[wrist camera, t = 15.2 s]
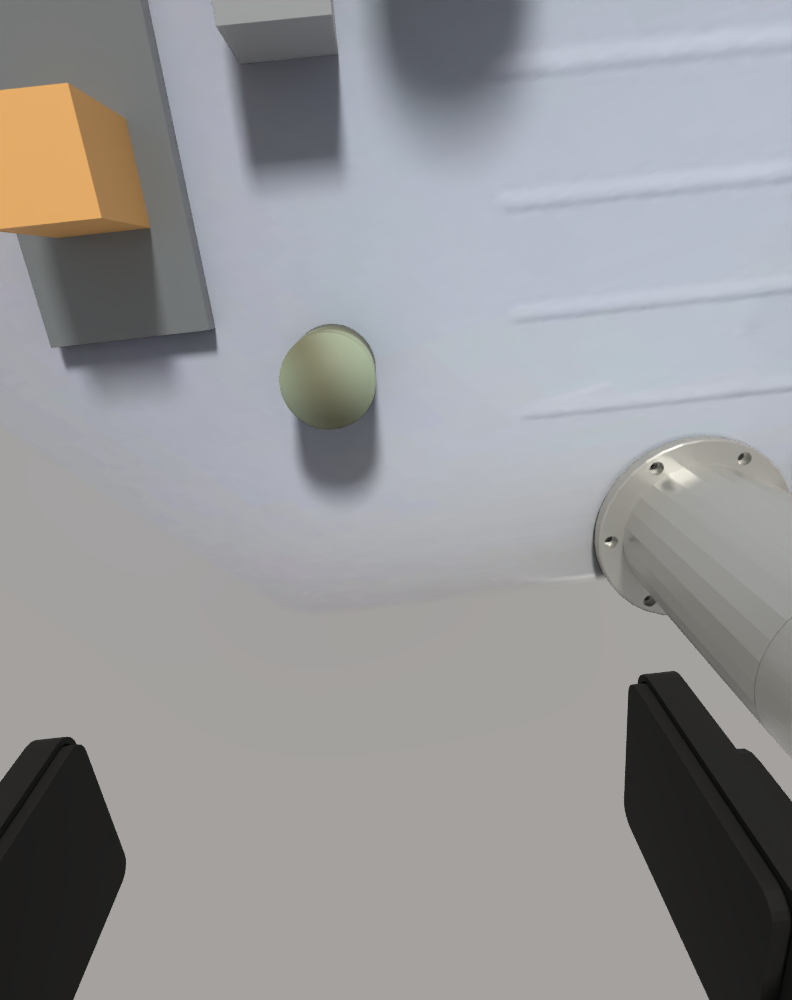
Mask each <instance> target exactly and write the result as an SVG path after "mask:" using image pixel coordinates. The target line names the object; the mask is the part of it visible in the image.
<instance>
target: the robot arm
mask: <svg viewBox="0 0 792 1000" xmlns="http://www.w3.org/2000/svg"><path fill="white" fill-rule="evenodd" d="M653 463H654V466H653V467H651V465H652V464H653ZM650 467H651V468H650ZM608 537H609V538H608ZM607 538H608V539H607ZM595 549H596V556H597V559H598V562H599V565H600V567H601V570H602V572H603V574H604V575H605V577H606V578H607V579H608V581H609V582H610V584H611V585H612V586H613V587H614V589H615V590H616V591H617V592H618V593H619V594H620V595H621V596H622V597H623V598H625V599H626V600H627V601H629V602H630V603H631V604H633V605H635V606H637V607H639V608H641V609H643V610H646V611H649V612H653V613H657V614H661V615H668V616H669V617H670V618H671V620H672V621H673V622H674V623H675V624H676V625H677V627H678V628H679V629H680V630H681V631H682V632H683V634H684V635H685V636H686V637H687V638H688V639H689V641H690V642H691V643H692V644H693V645H694V646H695V648H696V649H697V650H698V651H699V652H700V653H701V655H702V656H703V657H704V658H705V659H706V660H707V662H708V663H709V664H710V665H711V666H712V667H713V669H714V670H715V671H716V672H717V673H718V674H719V676H720V677H721V678H722V679H723V680H724V681H725V683H726V684H727V685H728V686H729V687H730V688H731V690H732V691H733V692H734V693H735V694H736V695H737V697H738V698H739V699H740V700H741V701H742V702H743V704H744V705H745V706H746V707H747V708H748V709H749V711H750V712H751V713H752V714H753V715H754V716H755V718H756V719H757V720H758V721H759V722H760V723H761V725H762V726H763V727H764V728H765V729H766V730H767V732H768V733H769V734H770V735H771V736H772V737H773V738H774V739H775V740H776V742H777V743H778V744H779V745H780V746H781V747H782V748H783V750H784V751H785V752H786V753H787V754H788V755H789V756H790V757H791V758H792V494H791V493H789V492H788V488H787V484H786V483H785V481H784V479H783V477H782V475H781V473H780V471H779V470H778V469H777V467H776V466H775V465H774V464H773V463H772V462H771V461H770V459H769V458H767V457H766V456H764V455H763V454H761V453H760V452H759V451H757V450H756V449H754V448H752V447H750V446H748V445H745V444H743V443H741V442H738V441H735V440H731V439H728V438H724V437H715V436H698V437H689V438H684V439H680V440H677V441H673V442H670V443H667V444H665V445H663V446H661V447H658V448H656V449H654V450H652V451H650V452H648V453H647V454H646V455H644V456H643V457H641V458H640V459H639V460H637V461H636V462H634V463H633V464H632V465H631V466H630V467H629V468H628V469H627V470H626V471H625V472H624V473H623V474H622V475H621V476H620V477H619V478H618V479H617V481H616V482H615V484H614V485H613V486H612V488H611V489H610V490H609V492H608V494H607V496H606V498H605V500H604V502H603V504H602V506H601V508H600V511H599V515H598V518H597V522H596V526H595ZM624 807H625V812H626V817H627V820H628V823H629V826H630V828H631V830H632V833H633V835H634V837H635V839H636V841H637V843H638V845H639V848H640V850H641V852H642V854H643V856H644V858H645V861H646V863H647V865H648V867H649V870H650V872H651V874H652V876H653V878H654V880H655V883H656V885H657V887H658V889H659V891H660V893H661V896H662V897H663V900H664V902H665V904H666V906H667V908H668V910H669V913H670V915H671V917H672V920H673V922H674V924H675V926H676V928H677V930H678V933H679V935H680V937H681V939H682V941H683V943H684V946H685V948H686V950H687V952H688V954H689V956H690V959H691V961H692V963H693V965H694V967H695V969H696V972H697V974H698V976H699V978H700V980H701V983H702V985H703V987H704V989H705V991H706V993H707V996H708V998H709V1000H792V801H791V800H790V799H789V798H788V796H787V795H786V794H785V792H783V790H782V789H781V787H780V786H779V785H778V784H777V783H776V781H775V780H774V778H773V777H772V776H771V775H770V773H769V772H768V771H767V770H766V768H765V767H764V766H763V765H762V763H761V762H760V761H759V760H758V759H757V758H756V757H755V756H754V755H753V753H752V752H750V751H748V750H746V749H736V748H735V747H734V745H733V744H732V743H731V741H730V740H729V739H728V738H727V736H726V735H725V733H724V732H723V731H722V729H721V728H720V727H719V725H718V724H717V723H716V721H715V720H714V719H713V718H712V716H711V715H710V714H709V712H708V711H707V710H706V708H705V707H704V706H703V704H702V703H701V702H700V700H699V699H698V698H697V696H696V695H695V694H694V693H693V691H692V690H691V689H690V687H689V686H688V685H687V683H686V682H685V681H684V680H683V678H682V677H681V676H680V675H679V674H678V673H677V672H675V671H671V672H661V673H653V674H643V675H641V676H640V677H639V679H638V684H634V685H630V687H629V692H628V716H627V741H626V766H625V791H624ZM125 869H126V858H125V854H124V852H123V849H122V846H121V844H120V840H119V838H118V835H117V832H116V830H115V827H114V824H113V822H112V819H111V816H110V814H109V811H108V808H107V806H106V803H105V801H104V798H103V795H102V792H101V790H100V787H99V784H98V782H97V779H96V776H95V774H94V771H93V768H92V765H91V763H90V760H89V757H88V755H87V752H86V750H85V748H84V747H83V746H82V745H77V744H76V743H75V741H74V740H73V739H72V738H71V737H61V738H52V739H43V740H35V741H33V742H31V743H30V744H29V745H28V746H27V747H26V748H25V749H24V751H23V752H22V753H21V755H20V756H19V757H18V759H17V760H16V761H15V763H14V764H13V766H12V767H11V768H10V770H9V771H8V772H7V774H6V775H5V776H4V778H3V779H2V780H1V782H0V1000H73V999H74V996H75V994H76V992H77V989H78V987H79V984H80V982H81V979H82V977H83V975H84V972H85V970H86V968H87V965H88V963H89V960H90V958H91V955H92V953H93V951H94V948H95V946H96V944H97V941H98V939H99V936H100V934H101V932H102V929H103V927H104V924H105V922H106V919H107V917H108V915H109V913H110V910H111V908H112V905H113V903H114V900H115V898H116V895H117V893H118V891H119V888H120V886H121V884H122V881H123V878H124V874H125Z"/></svg>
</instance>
